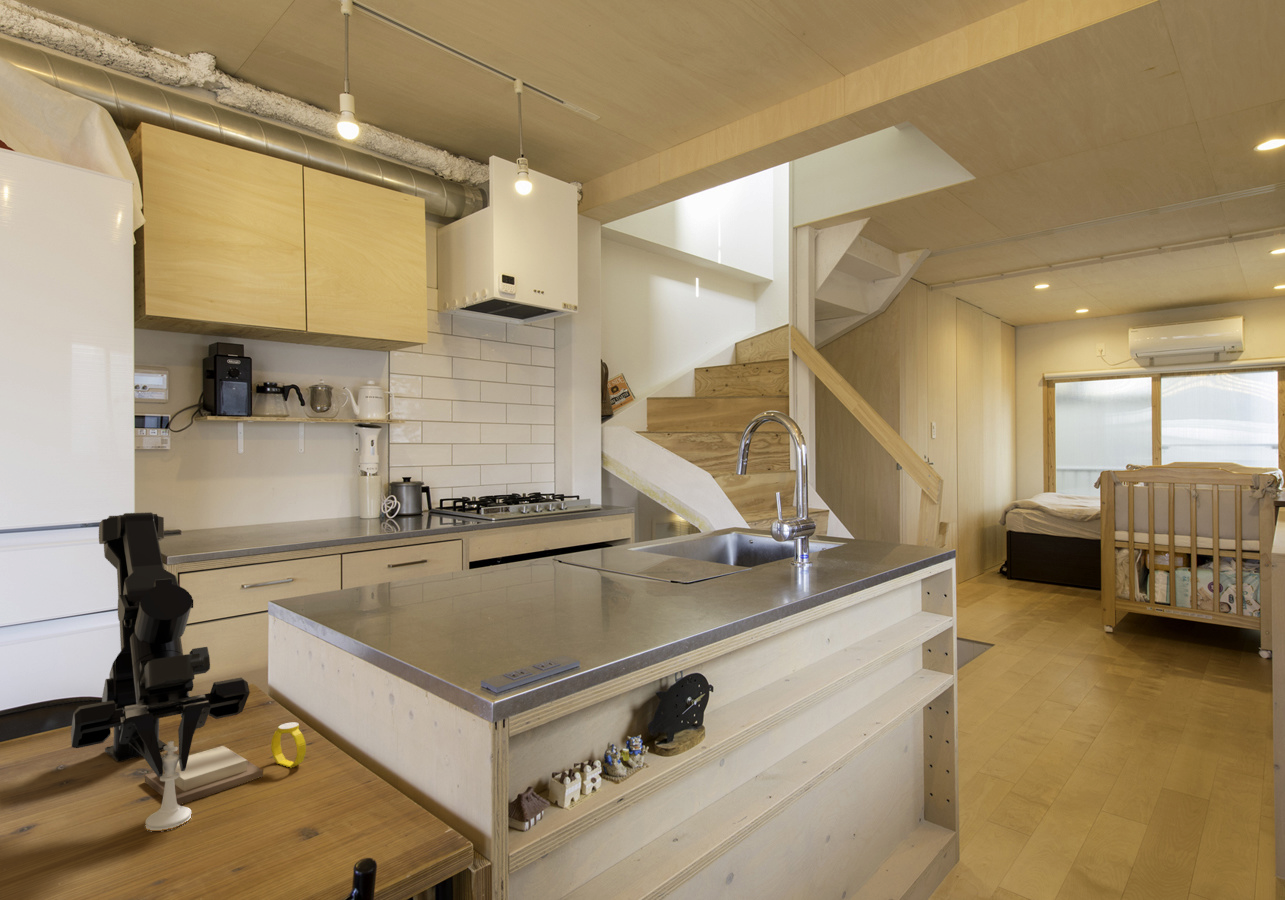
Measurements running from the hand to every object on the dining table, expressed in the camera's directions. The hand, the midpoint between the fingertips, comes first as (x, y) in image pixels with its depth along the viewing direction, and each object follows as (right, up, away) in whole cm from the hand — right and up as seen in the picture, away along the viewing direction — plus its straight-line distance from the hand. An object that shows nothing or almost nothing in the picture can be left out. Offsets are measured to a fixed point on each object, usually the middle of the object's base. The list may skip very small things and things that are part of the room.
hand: (172, 772), depth 87 cm
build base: (-4, -7, +12) cm, 14 cm away
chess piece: (-1, -7, +1) cm, 7 cm away
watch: (+5, -7, +18) cm, 20 cm away
